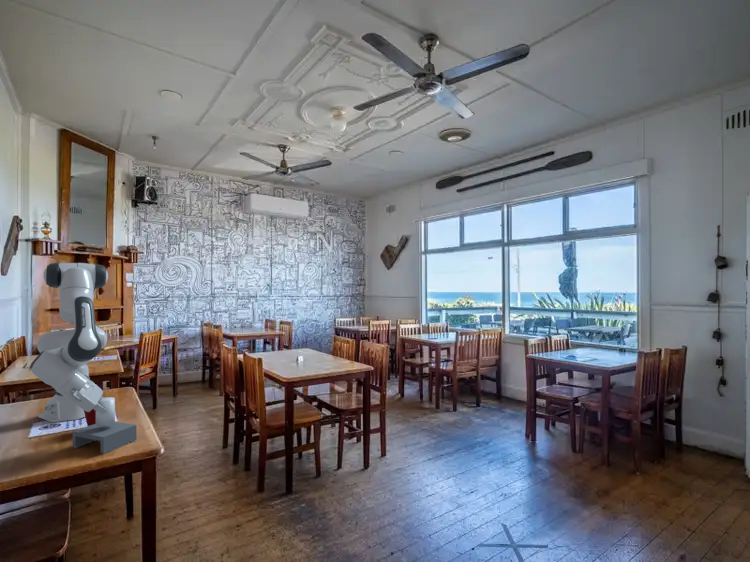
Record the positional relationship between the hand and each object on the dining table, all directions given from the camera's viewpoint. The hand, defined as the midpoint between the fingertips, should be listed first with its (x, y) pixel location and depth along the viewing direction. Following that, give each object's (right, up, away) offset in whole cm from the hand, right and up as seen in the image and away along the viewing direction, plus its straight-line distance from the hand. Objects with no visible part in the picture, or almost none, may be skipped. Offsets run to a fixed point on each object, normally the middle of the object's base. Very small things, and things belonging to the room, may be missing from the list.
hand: (107, 409), depth 154 cm
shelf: (-1, -13, 0) cm, 13 cm away
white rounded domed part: (0, -5, 0) cm, 5 cm away
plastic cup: (-13, -13, +14) cm, 23 cm away
